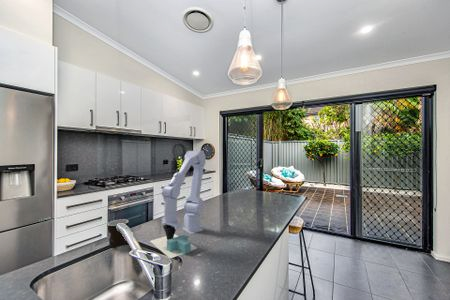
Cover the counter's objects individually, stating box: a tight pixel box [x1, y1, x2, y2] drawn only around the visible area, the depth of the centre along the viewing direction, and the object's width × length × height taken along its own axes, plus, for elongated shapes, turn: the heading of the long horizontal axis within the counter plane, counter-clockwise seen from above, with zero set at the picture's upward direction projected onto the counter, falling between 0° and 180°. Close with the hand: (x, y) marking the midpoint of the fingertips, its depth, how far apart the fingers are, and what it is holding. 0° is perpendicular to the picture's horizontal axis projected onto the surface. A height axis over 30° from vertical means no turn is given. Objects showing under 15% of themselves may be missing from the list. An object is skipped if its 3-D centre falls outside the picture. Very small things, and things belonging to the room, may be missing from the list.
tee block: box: [167, 234, 192, 255], centre depth 84 cm, size 9×9×4 cm
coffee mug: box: [107, 218, 129, 248], centre depth 88 cm, size 12×9×10 cm
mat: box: [149, 233, 198, 259], centre depth 89 cm, size 22×13×1 cm, turn 43°
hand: (170, 240), depth 91 cm, fingers closed
